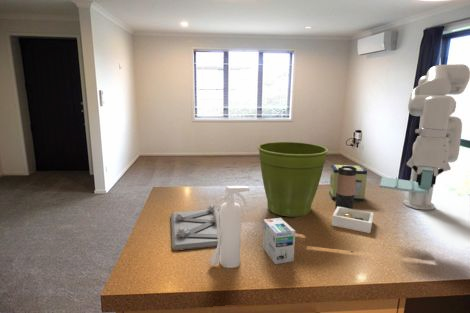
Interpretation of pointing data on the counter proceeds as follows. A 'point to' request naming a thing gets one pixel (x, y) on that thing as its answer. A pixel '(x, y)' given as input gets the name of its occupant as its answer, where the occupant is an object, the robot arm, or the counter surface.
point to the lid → (410, 183)
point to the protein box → (359, 185)
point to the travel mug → (345, 187)
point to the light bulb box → (279, 240)
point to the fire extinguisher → (229, 228)
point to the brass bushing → (348, 215)
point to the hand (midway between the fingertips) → (425, 184)
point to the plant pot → (291, 175)
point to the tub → (353, 219)
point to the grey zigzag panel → (194, 229)
